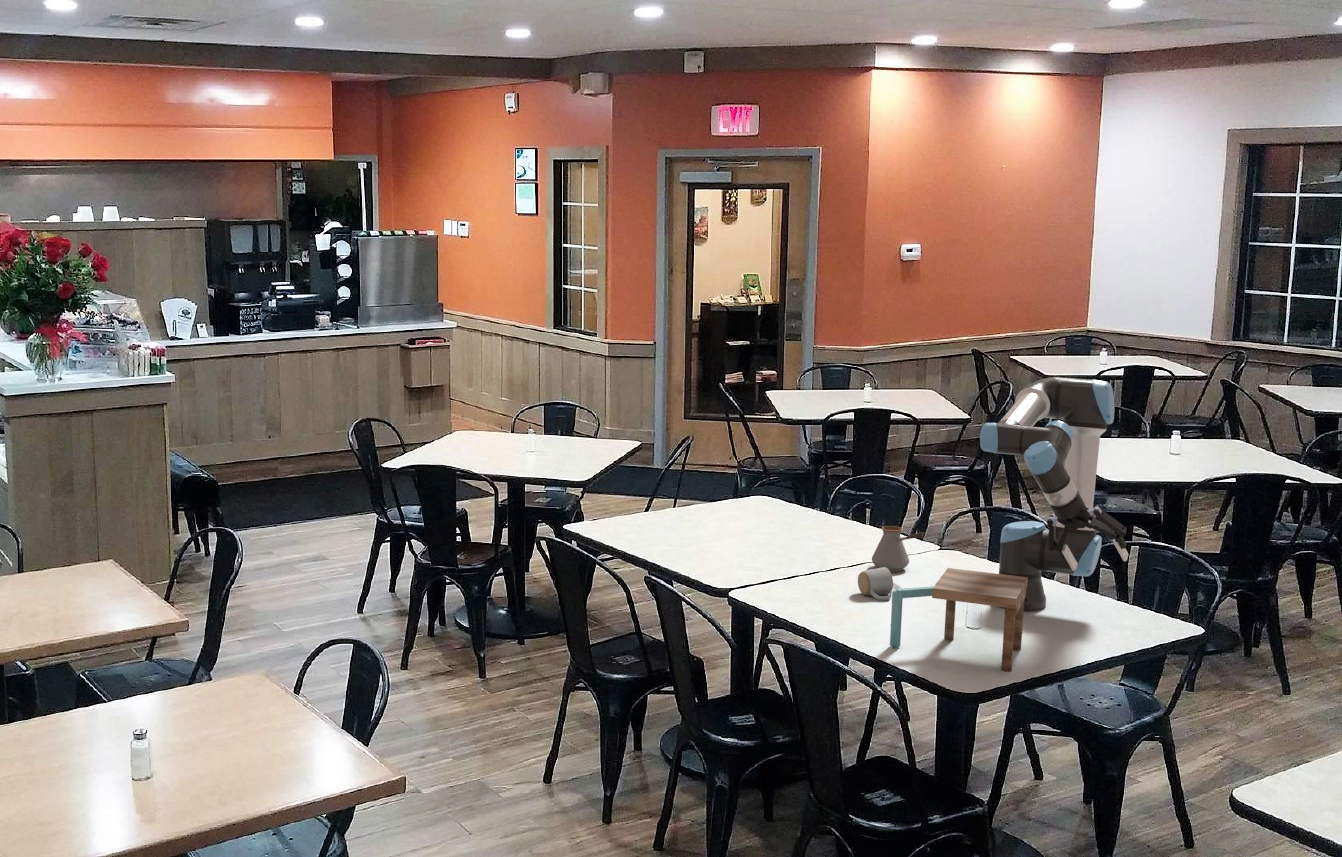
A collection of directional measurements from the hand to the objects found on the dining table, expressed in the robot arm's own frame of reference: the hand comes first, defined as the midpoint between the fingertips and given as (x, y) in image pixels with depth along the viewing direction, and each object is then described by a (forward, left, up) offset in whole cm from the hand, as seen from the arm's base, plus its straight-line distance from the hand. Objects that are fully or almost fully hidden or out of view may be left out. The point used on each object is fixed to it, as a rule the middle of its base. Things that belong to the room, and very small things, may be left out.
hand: (1100, 562), depth 327 cm
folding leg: (-24, -38, -22) cm, 50 cm away
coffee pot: (-77, +4, -23) cm, 80 cm away
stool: (-12, -30, -22) cm, 39 cm away
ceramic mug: (-62, -18, -23) cm, 68 cm away
